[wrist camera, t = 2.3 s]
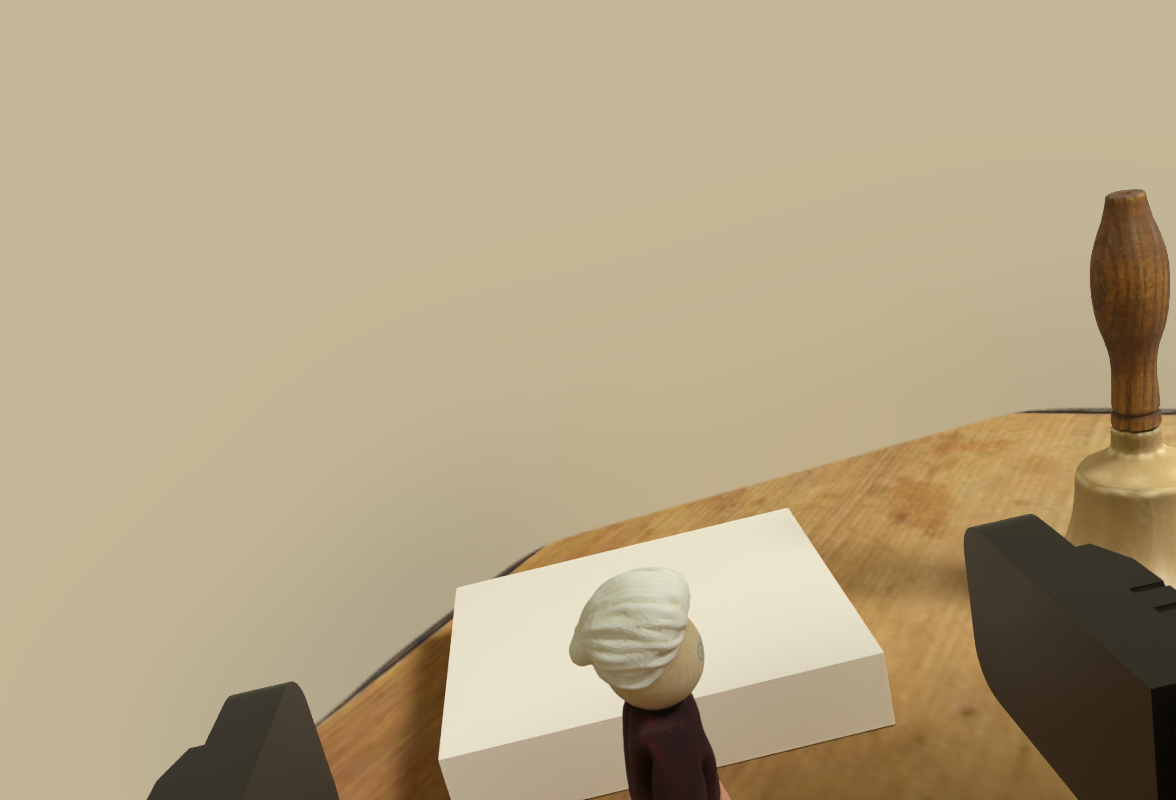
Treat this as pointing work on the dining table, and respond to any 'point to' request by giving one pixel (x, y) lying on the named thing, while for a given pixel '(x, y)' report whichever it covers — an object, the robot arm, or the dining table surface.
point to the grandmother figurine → (652, 681)
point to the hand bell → (1130, 395)
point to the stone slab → (723, 694)
